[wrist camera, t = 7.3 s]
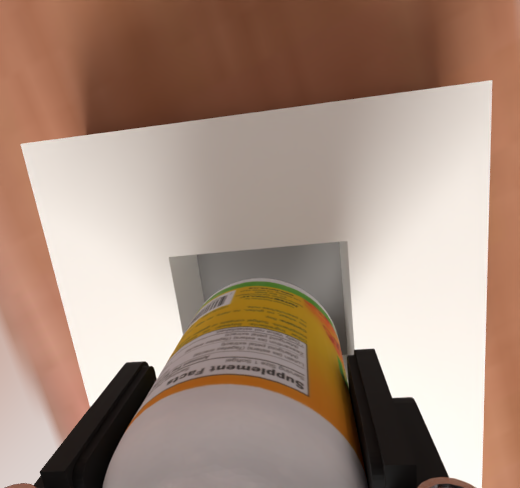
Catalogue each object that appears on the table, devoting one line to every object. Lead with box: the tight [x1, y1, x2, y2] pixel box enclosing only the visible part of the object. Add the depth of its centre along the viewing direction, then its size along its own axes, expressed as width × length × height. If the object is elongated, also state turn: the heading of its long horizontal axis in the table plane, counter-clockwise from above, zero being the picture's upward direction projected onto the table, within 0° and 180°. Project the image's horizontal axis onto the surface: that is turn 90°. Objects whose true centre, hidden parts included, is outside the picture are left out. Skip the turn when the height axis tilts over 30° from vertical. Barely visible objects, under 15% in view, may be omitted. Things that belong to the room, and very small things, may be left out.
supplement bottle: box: [103, 278, 368, 488], centre depth 10 cm, size 5×5×10 cm
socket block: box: [21, 80, 492, 488], centre depth 17 cm, size 16×16×4 cm
